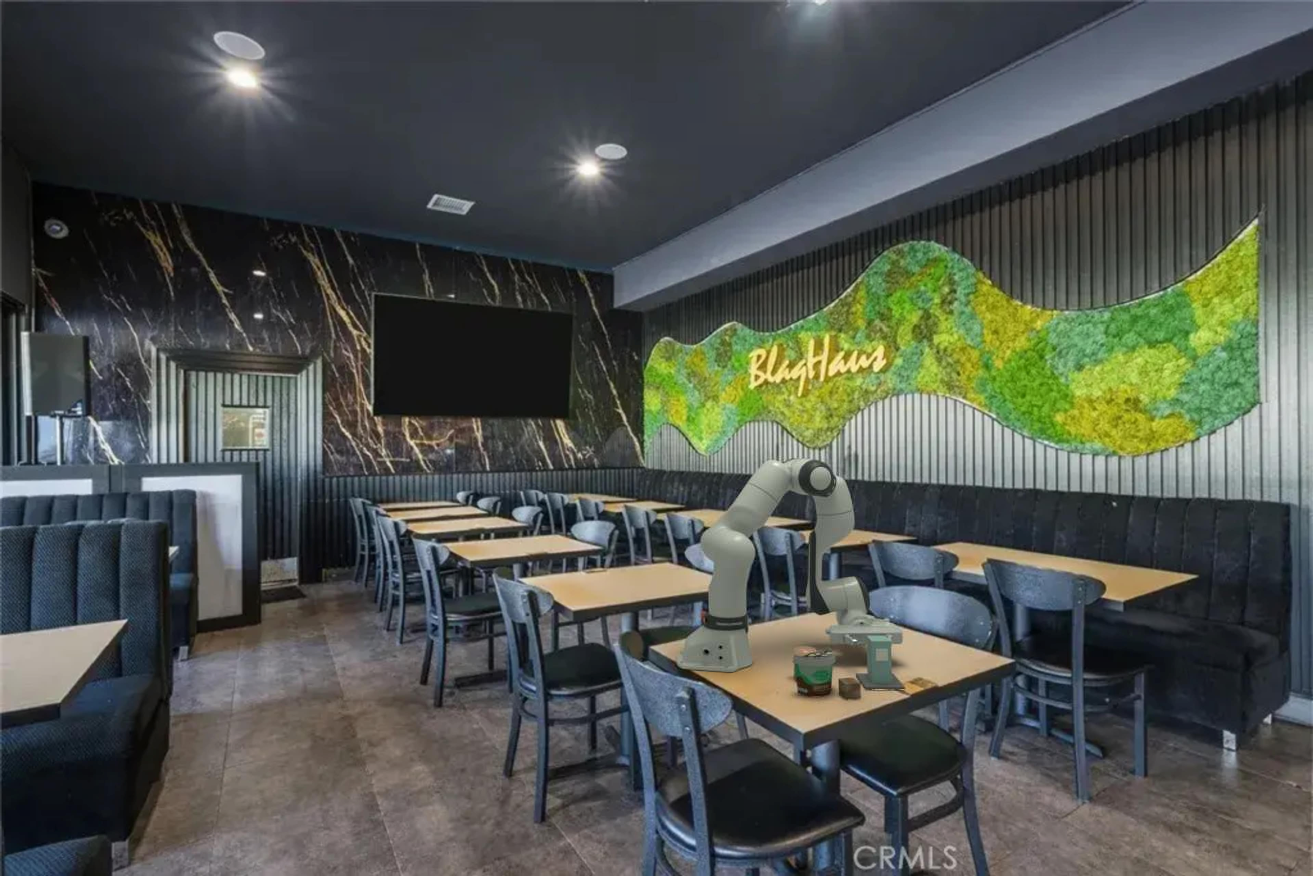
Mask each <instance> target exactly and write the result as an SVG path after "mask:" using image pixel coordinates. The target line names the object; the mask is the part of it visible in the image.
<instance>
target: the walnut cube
mask: <svg viewBox="0 0 1313 876" xmlns="http://www.w3.org/2000/svg"><path fill="white" fill-rule="evenodd" d="M837 683H838V695H839V696H841V697H842V699H843V700H845V699H846V700H845V701H849V700H848V699H853V700H860V699H859V698H861V699H862V693H861V691H862V690H861V688H862V684H861V683H860V681H859V680H858V679H856V678H855V677H854V676H853V677H852V676H851V677H843V678H838V682H837Z"/></svg>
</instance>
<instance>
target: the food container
mask: <svg viewBox="0 0 1313 876" xmlns="http://www.w3.org/2000/svg"><path fill="white" fill-rule="evenodd" d="M826 649H827V650H824V651H820V652H816V653H810V654H807V655H805V656H798V655H795V654H794V653H793V657H792V663H793V664H794V663H795V671H796V680H797V681H796V680H795V681H796V687H797V689H796V690H797V694H799V693H800V695H804V696H806V697H812V696H820V697H825V695H826V696H828V695H830V694H831V693H832V686H833V685H832V682H833V672H834V671H833V669H834V664H835V663H836V660H837V659H836V656H835V652H834V651H833V649H832V648H830V647H827V648H826Z"/></svg>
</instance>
